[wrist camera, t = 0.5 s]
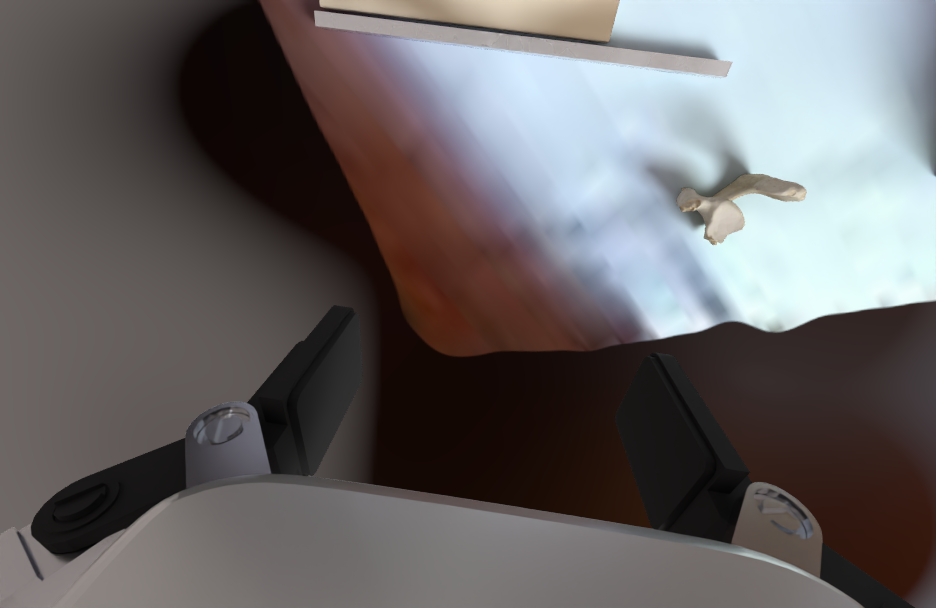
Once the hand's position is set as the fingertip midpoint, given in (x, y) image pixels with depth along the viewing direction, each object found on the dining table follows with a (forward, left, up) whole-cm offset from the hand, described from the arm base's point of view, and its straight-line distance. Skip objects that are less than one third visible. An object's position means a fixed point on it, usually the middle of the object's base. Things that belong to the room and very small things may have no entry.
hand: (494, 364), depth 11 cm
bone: (-1, +21, -28) cm, 35 cm away
